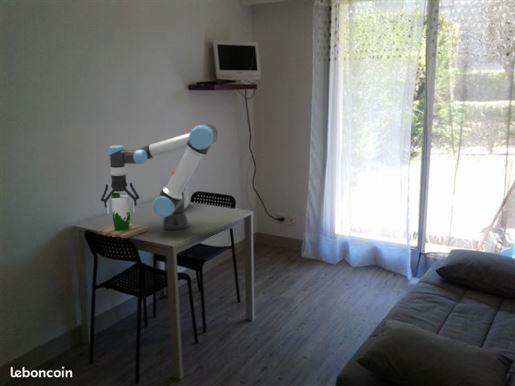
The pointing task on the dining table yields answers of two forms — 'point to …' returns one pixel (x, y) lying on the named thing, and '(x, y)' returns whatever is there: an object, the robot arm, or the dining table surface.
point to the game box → (185, 194)
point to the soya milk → (120, 212)
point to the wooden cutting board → (122, 231)
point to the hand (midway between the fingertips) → (121, 212)
